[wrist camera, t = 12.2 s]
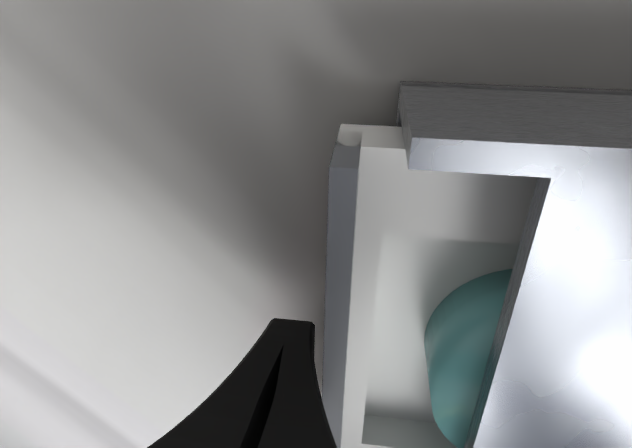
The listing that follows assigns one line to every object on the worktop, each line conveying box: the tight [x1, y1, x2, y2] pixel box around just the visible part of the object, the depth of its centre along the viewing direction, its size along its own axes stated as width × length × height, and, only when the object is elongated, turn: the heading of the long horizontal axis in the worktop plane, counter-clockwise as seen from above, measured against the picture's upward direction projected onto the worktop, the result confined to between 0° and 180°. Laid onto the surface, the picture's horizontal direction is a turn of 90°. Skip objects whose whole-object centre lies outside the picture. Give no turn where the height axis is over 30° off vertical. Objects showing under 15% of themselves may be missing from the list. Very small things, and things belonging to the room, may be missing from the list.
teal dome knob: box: [424, 269, 513, 448], centre depth 13 cm, size 6×6×2 cm
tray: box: [322, 124, 538, 448], centre depth 13 cm, size 13×11×3 cm
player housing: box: [396, 81, 632, 448], centre depth 13 cm, size 15×12×5 cm
